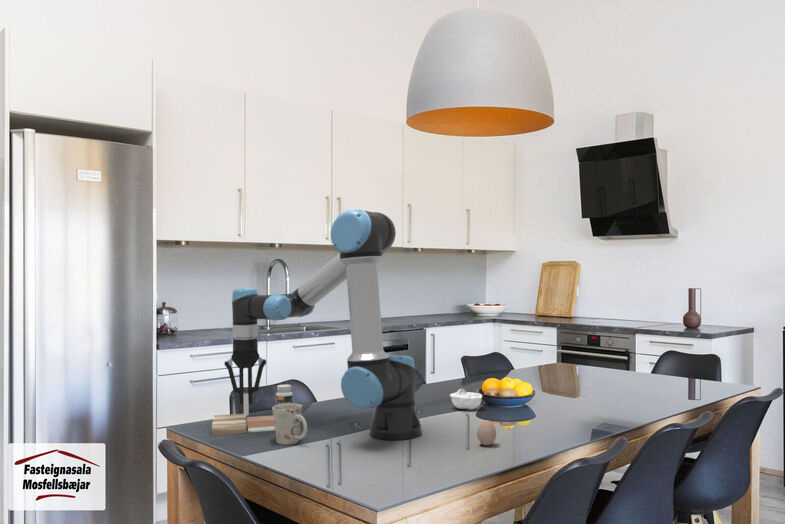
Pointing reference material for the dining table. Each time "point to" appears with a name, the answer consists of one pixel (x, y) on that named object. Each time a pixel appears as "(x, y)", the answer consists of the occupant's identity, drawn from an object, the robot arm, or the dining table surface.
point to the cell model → (466, 399)
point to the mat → (261, 429)
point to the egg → (486, 433)
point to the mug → (288, 423)
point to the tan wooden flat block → (229, 424)
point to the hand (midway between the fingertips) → (246, 414)
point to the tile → (260, 421)
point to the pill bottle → (284, 394)
